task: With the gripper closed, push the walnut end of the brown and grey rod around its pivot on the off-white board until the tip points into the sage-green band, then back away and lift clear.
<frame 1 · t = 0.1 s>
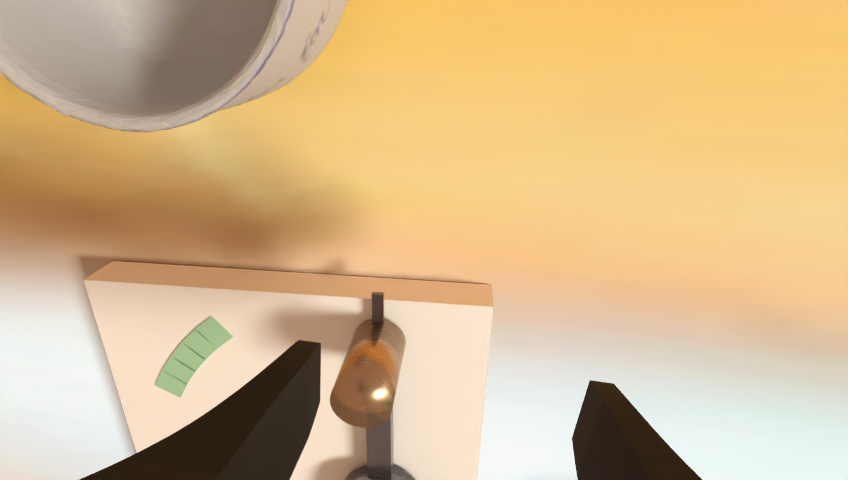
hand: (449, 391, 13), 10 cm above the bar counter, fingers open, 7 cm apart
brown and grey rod: (373, 453, 22), point 4 cm above the bar counter, hinge at 0.0°
dial board: (308, 392, 26), on the bar counter
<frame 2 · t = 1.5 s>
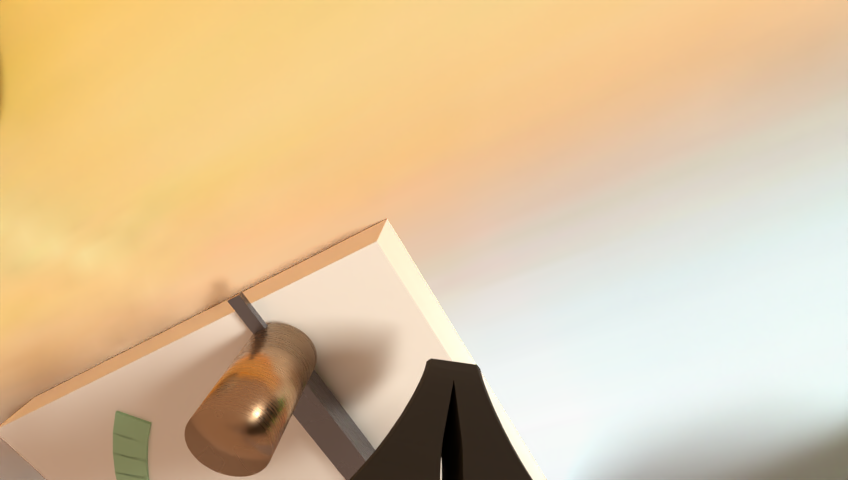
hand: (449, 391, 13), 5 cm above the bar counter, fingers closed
dial board: (293, 447, 21), on the bar counter
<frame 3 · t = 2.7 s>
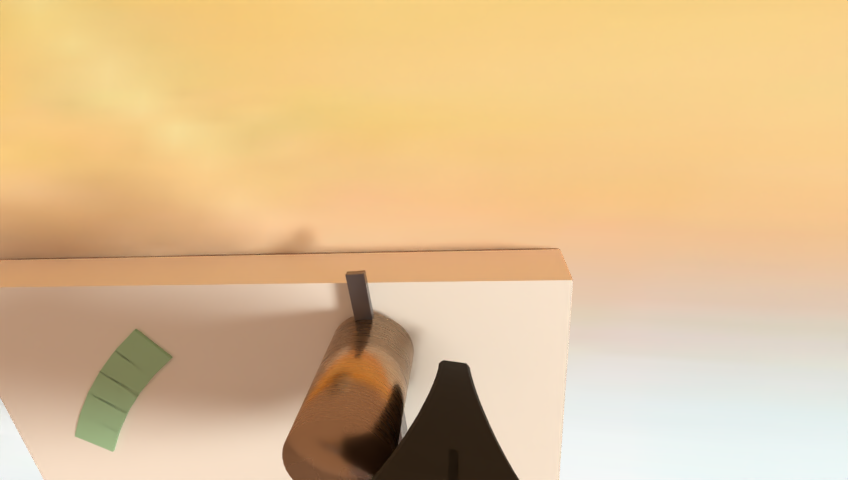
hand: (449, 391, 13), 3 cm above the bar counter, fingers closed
dial board: (300, 428, 18), on the bar counter
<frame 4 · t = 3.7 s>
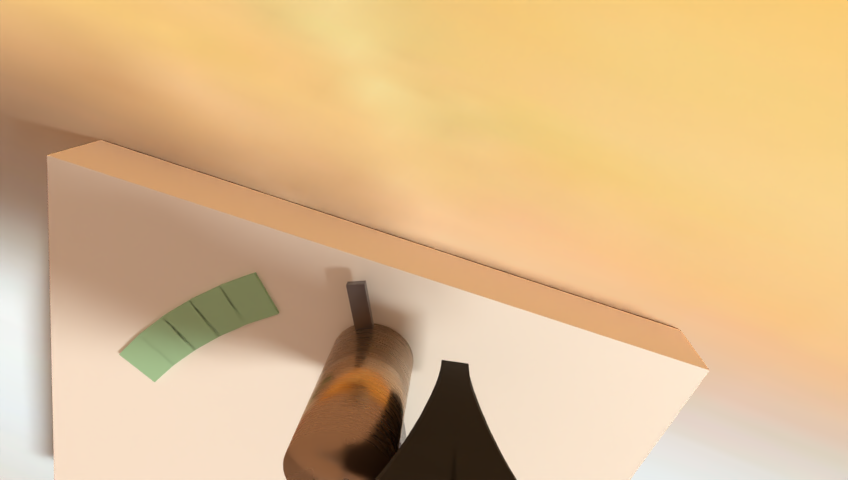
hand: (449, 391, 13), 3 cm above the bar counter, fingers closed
dial board: (342, 410, 18), on the bar counter
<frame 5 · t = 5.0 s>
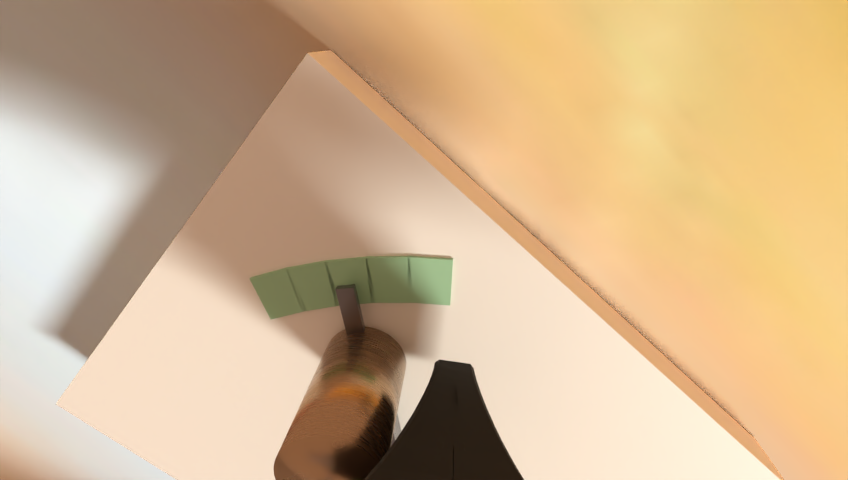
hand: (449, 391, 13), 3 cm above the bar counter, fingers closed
dial board: (413, 401, 17), on the bar counter
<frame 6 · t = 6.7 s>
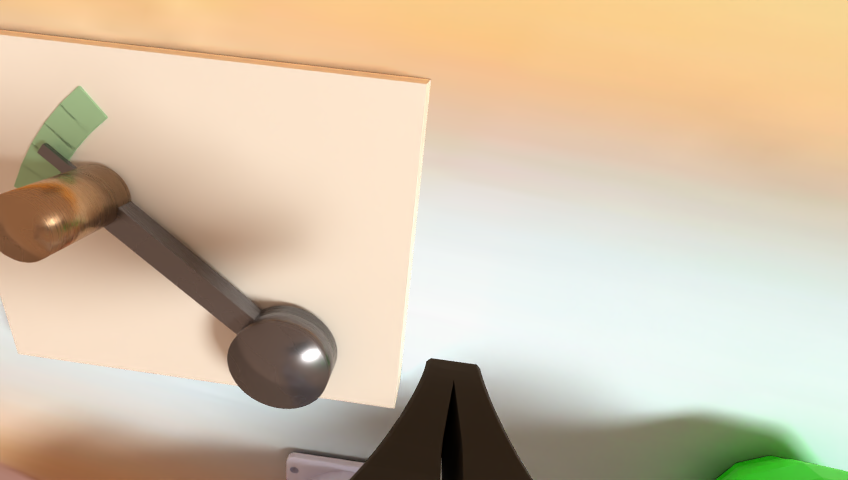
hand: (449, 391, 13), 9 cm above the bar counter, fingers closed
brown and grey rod: (170, 294, 18), point 4 cm above the bar counter, hinge at 50.3°
dial board: (211, 224, 22), on the bar counter
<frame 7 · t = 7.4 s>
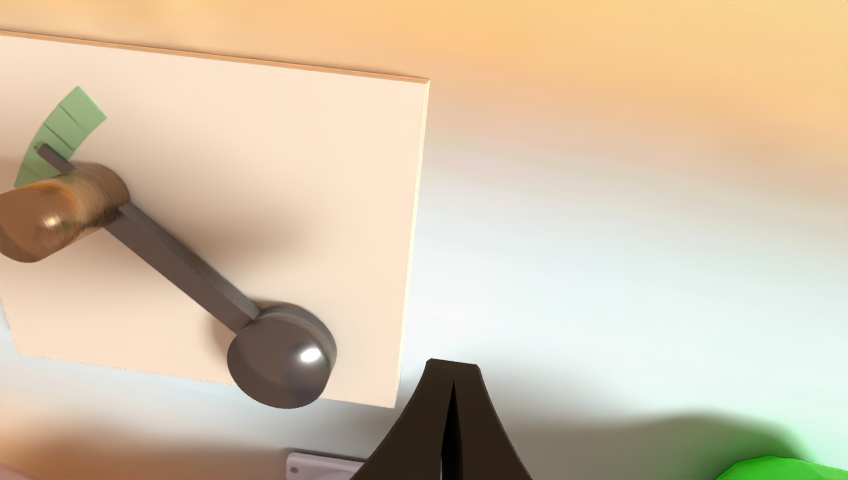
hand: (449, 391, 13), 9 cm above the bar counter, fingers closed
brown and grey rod: (170, 294, 18), point 4 cm above the bar counter, hinge at 50.3°
dial board: (210, 225, 22), on the bar counter
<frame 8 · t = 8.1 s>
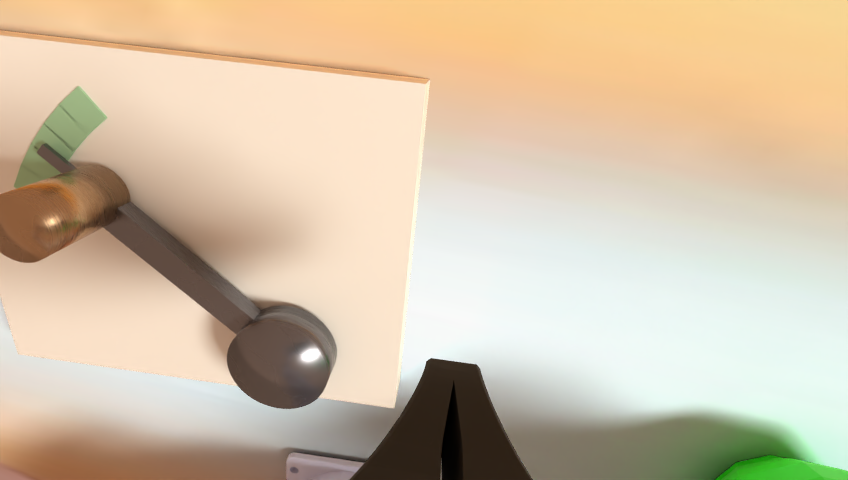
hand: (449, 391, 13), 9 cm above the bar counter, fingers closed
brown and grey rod: (170, 294, 18), point 4 cm above the bar counter, hinge at 50.3°
dial board: (210, 225, 22), on the bar counter
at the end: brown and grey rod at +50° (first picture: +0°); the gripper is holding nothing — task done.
